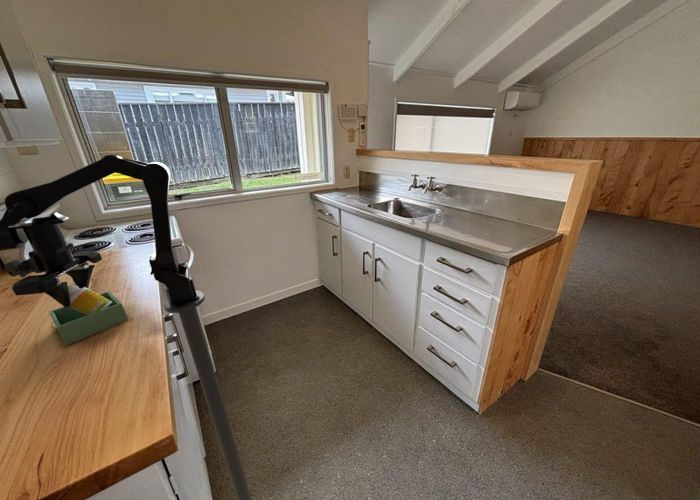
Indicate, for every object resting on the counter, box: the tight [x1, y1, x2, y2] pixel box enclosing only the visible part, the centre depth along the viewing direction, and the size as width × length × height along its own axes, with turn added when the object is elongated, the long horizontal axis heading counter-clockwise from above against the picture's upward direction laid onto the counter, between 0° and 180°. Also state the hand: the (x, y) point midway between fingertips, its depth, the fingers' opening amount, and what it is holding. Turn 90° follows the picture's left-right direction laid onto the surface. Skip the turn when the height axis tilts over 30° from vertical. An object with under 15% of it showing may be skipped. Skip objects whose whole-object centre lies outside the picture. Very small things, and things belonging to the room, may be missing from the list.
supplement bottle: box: [68, 283, 113, 315], centre depth 72 cm, size 5×5×10 cm
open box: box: [48, 290, 129, 346], centre depth 73 cm, size 12×11×5 cm
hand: (76, 300), depth 72 cm, fingers closed on supplement bottle, 5 cm apart
